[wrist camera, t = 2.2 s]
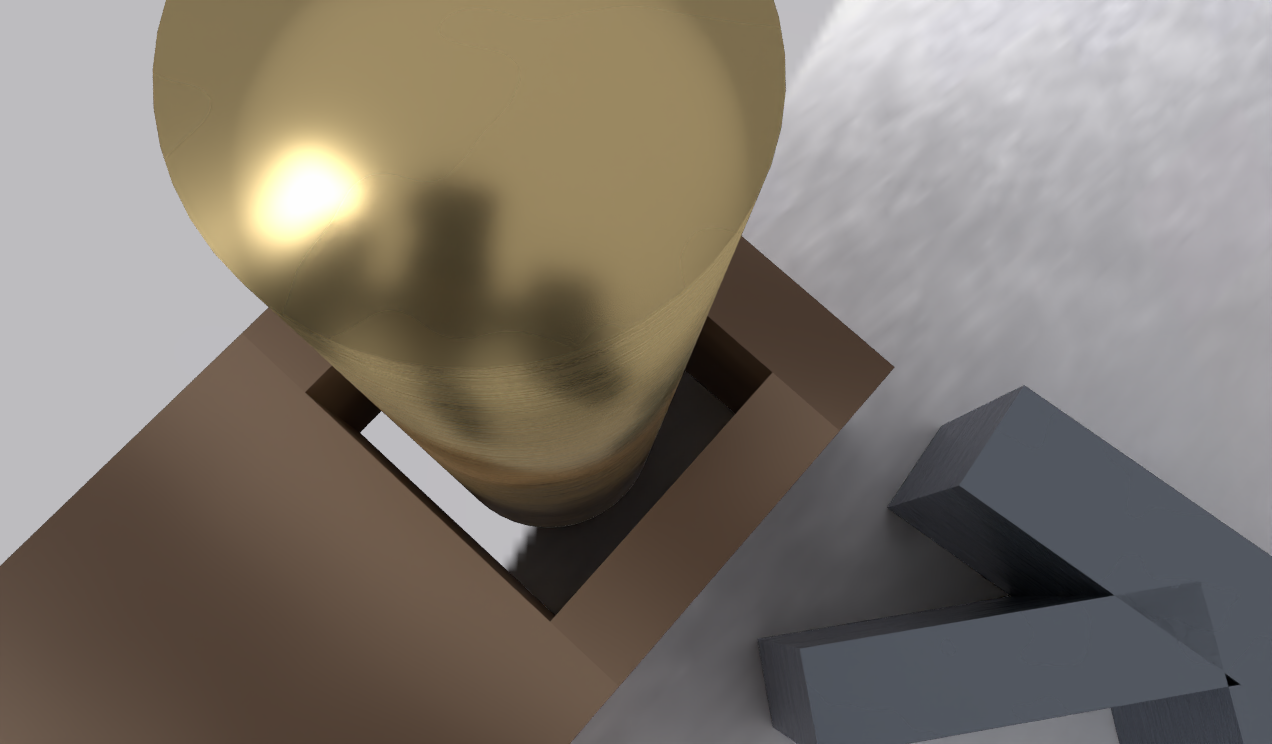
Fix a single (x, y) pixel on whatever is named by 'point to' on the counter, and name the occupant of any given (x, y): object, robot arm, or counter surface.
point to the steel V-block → (1047, 603)
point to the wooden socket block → (380, 556)
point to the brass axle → (482, 207)
